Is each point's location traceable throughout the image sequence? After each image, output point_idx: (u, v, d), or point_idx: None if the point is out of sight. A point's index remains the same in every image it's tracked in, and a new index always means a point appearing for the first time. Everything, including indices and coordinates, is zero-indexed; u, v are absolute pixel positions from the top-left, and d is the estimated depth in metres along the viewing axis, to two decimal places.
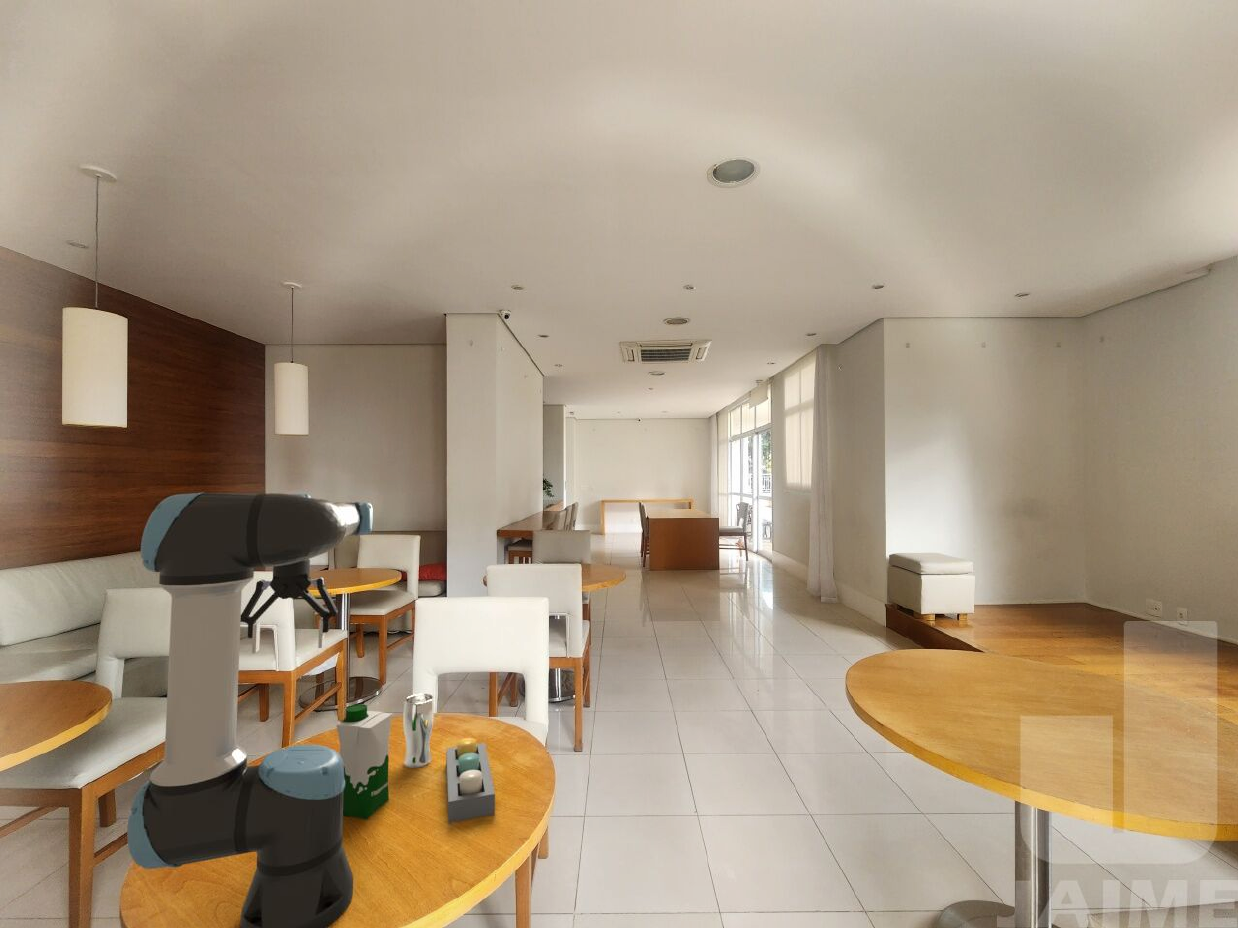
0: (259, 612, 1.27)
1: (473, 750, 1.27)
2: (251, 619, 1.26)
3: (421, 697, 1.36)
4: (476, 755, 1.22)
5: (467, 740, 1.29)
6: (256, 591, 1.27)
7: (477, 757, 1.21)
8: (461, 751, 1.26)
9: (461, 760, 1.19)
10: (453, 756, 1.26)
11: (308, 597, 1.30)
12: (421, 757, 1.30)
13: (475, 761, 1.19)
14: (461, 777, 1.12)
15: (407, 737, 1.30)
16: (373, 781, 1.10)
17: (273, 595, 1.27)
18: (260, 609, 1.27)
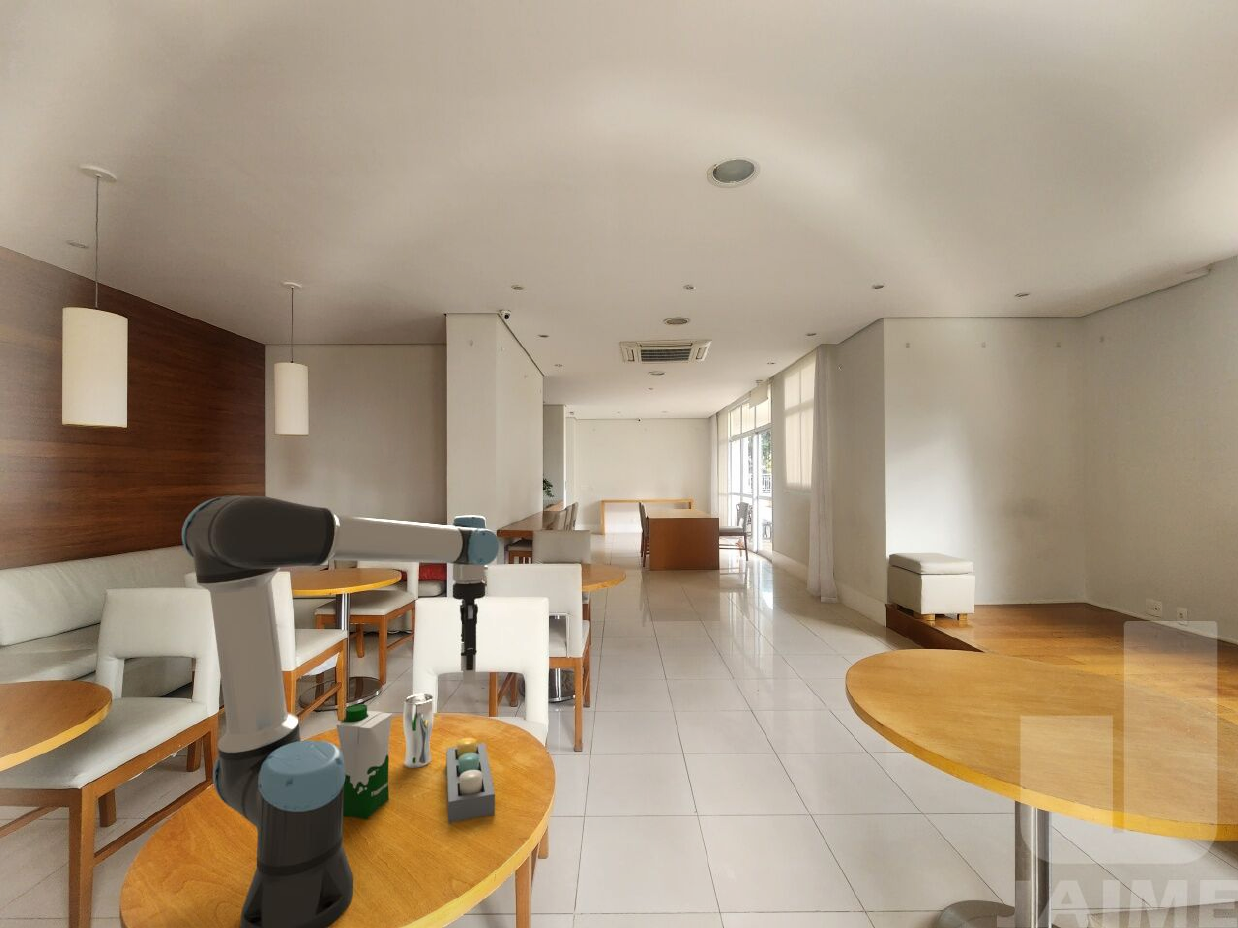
0: (462, 631, 1.34)
1: (473, 750, 1.27)
2: None
3: (421, 697, 1.36)
4: (476, 755, 1.22)
5: (467, 740, 1.29)
6: None
7: (477, 757, 1.21)
8: (461, 751, 1.26)
9: (461, 760, 1.19)
10: (453, 756, 1.26)
11: (463, 625, 1.26)
12: (421, 757, 1.30)
13: (475, 761, 1.19)
14: (461, 777, 1.12)
15: (407, 737, 1.30)
16: (373, 782, 1.10)
17: None
18: (462, 628, 1.34)
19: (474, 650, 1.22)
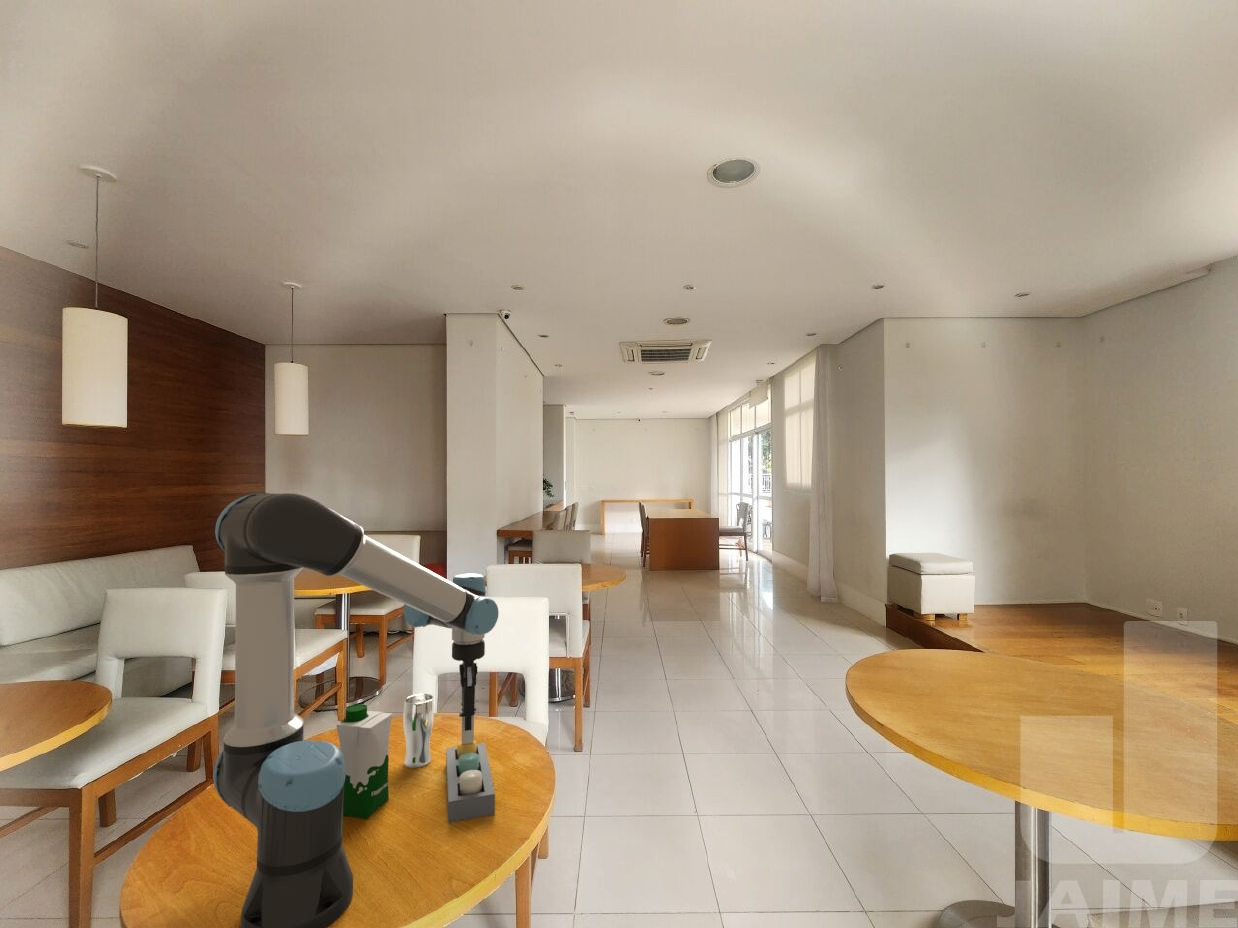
0: (462, 698, 1.30)
1: (473, 751, 1.27)
2: (462, 707, 1.30)
3: (421, 697, 1.36)
4: (476, 755, 1.22)
5: None
6: None
7: (477, 757, 1.21)
8: (461, 752, 1.26)
9: (461, 760, 1.19)
10: (453, 756, 1.26)
11: (462, 687, 1.27)
12: (421, 757, 1.30)
13: (475, 761, 1.19)
14: (461, 777, 1.12)
15: (407, 737, 1.30)
16: (373, 782, 1.10)
17: (460, 677, 1.30)
18: (462, 695, 1.30)
19: (472, 713, 1.26)
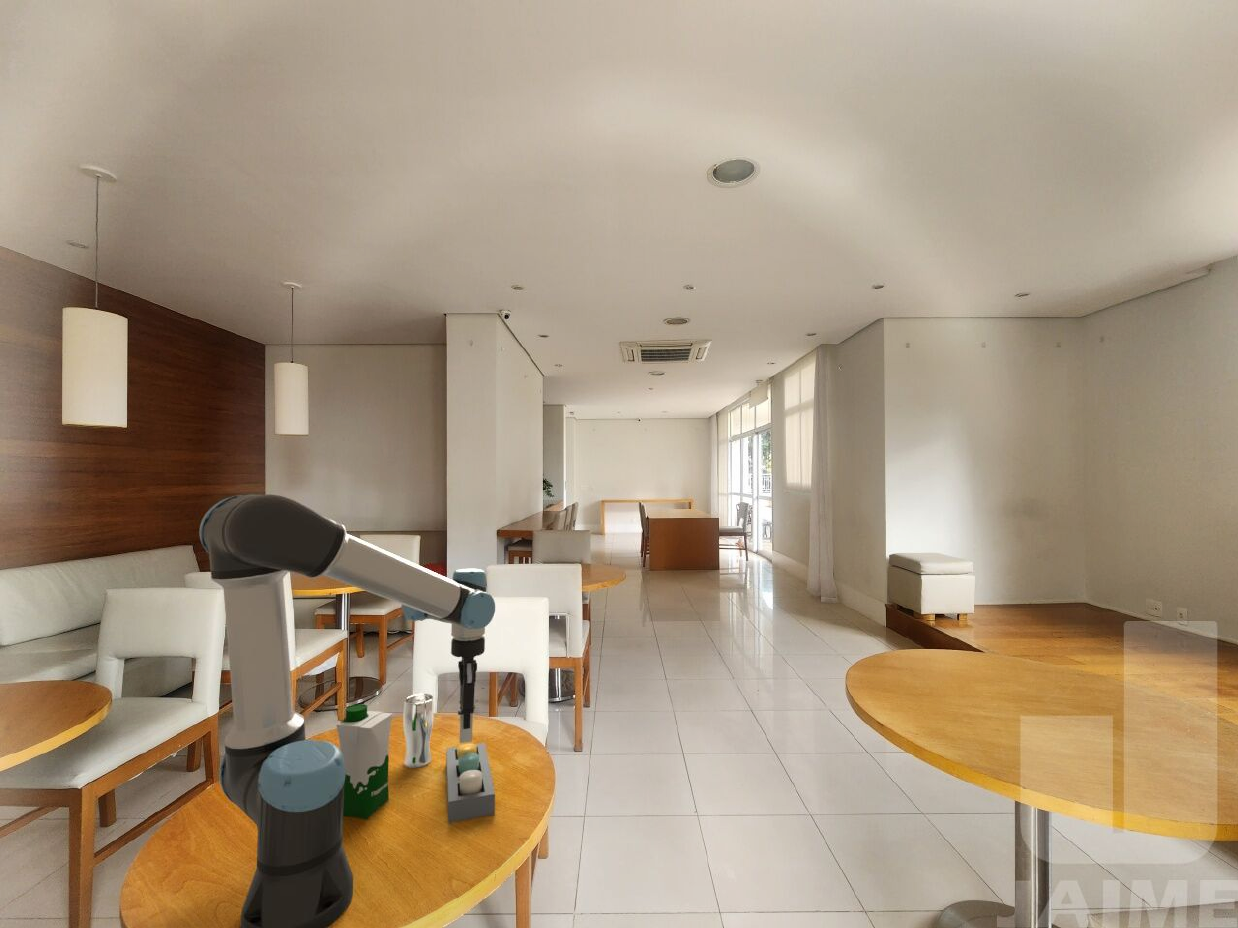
0: (461, 695, 1.27)
1: None
2: (460, 704, 1.27)
3: (421, 697, 1.36)
4: (476, 755, 1.22)
5: (467, 745, 1.29)
6: None
7: (477, 757, 1.21)
8: None
9: (461, 760, 1.19)
10: (453, 756, 1.26)
11: (461, 684, 1.25)
12: (421, 757, 1.30)
13: (475, 761, 1.19)
14: (461, 777, 1.12)
15: (407, 737, 1.30)
16: (373, 782, 1.10)
17: (459, 674, 1.27)
18: (461, 692, 1.27)
19: (471, 711, 1.23)
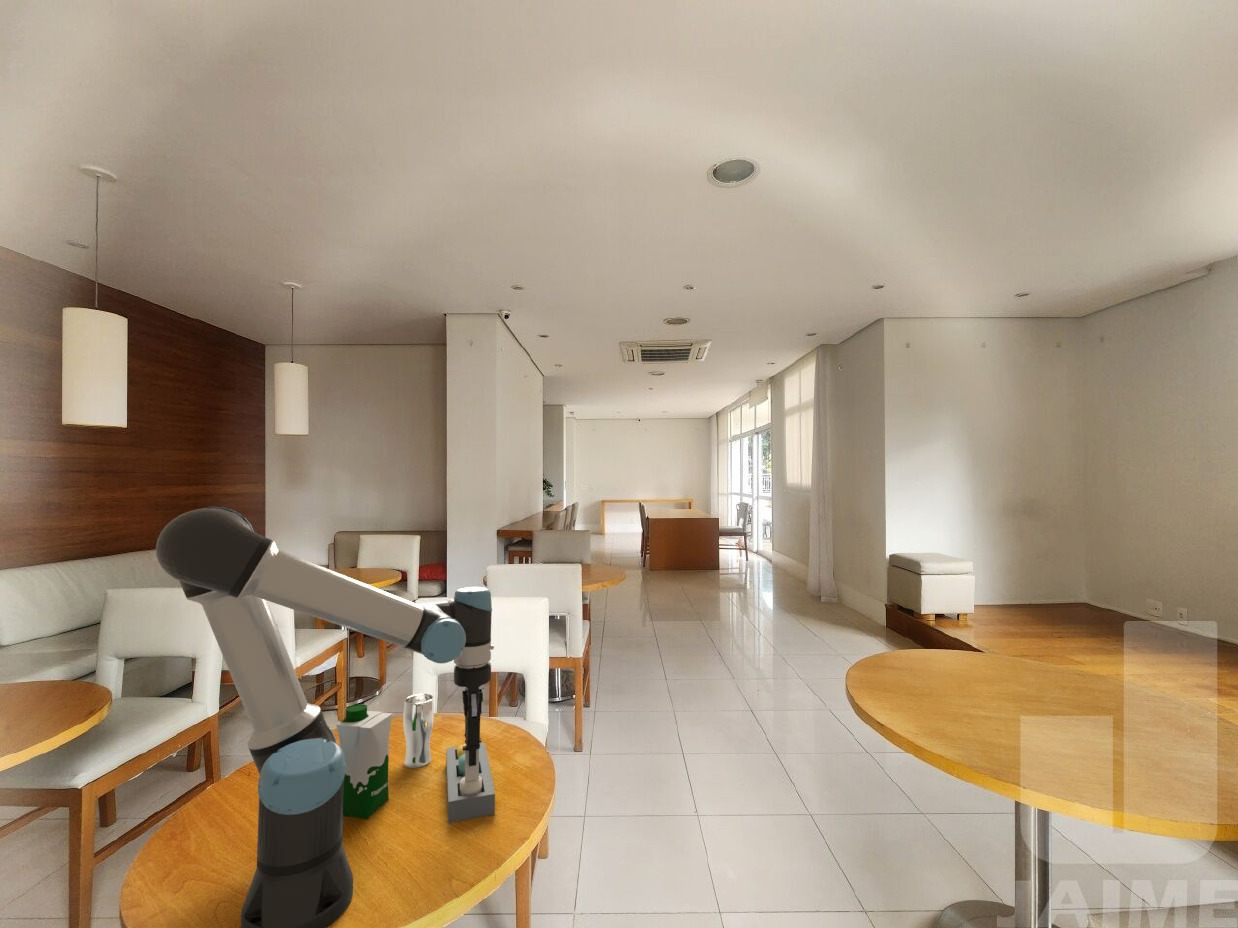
0: None
1: None
2: None
3: (421, 697, 1.36)
4: None
5: None
6: None
7: None
8: None
9: (461, 760, 1.19)
10: (453, 756, 1.26)
11: (466, 716, 1.12)
12: (421, 757, 1.30)
13: None
14: (461, 782, 1.12)
15: (407, 737, 1.30)
16: (373, 782, 1.10)
17: None
18: (465, 724, 1.15)
19: (477, 746, 1.10)
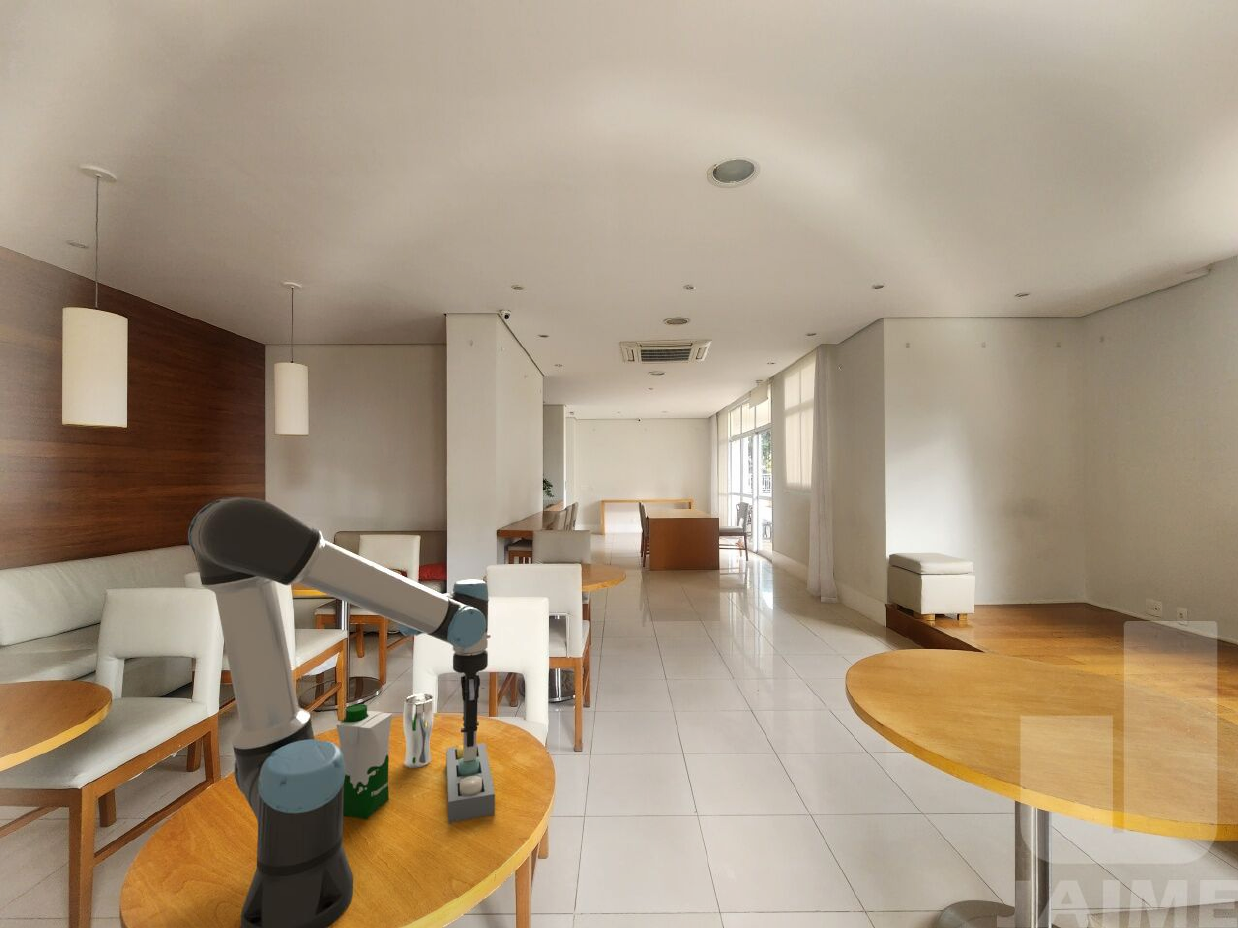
0: (464, 712, 1.22)
1: None
2: (464, 721, 1.22)
3: (421, 697, 1.36)
4: (476, 758, 1.22)
5: None
6: None
7: (477, 760, 1.21)
8: (461, 756, 1.26)
9: (461, 763, 1.19)
10: (453, 756, 1.26)
11: (464, 701, 1.20)
12: (421, 757, 1.30)
13: (475, 764, 1.19)
14: (461, 783, 1.12)
15: (407, 737, 1.30)
16: (373, 782, 1.10)
17: None
18: (464, 708, 1.22)
19: (475, 728, 1.18)
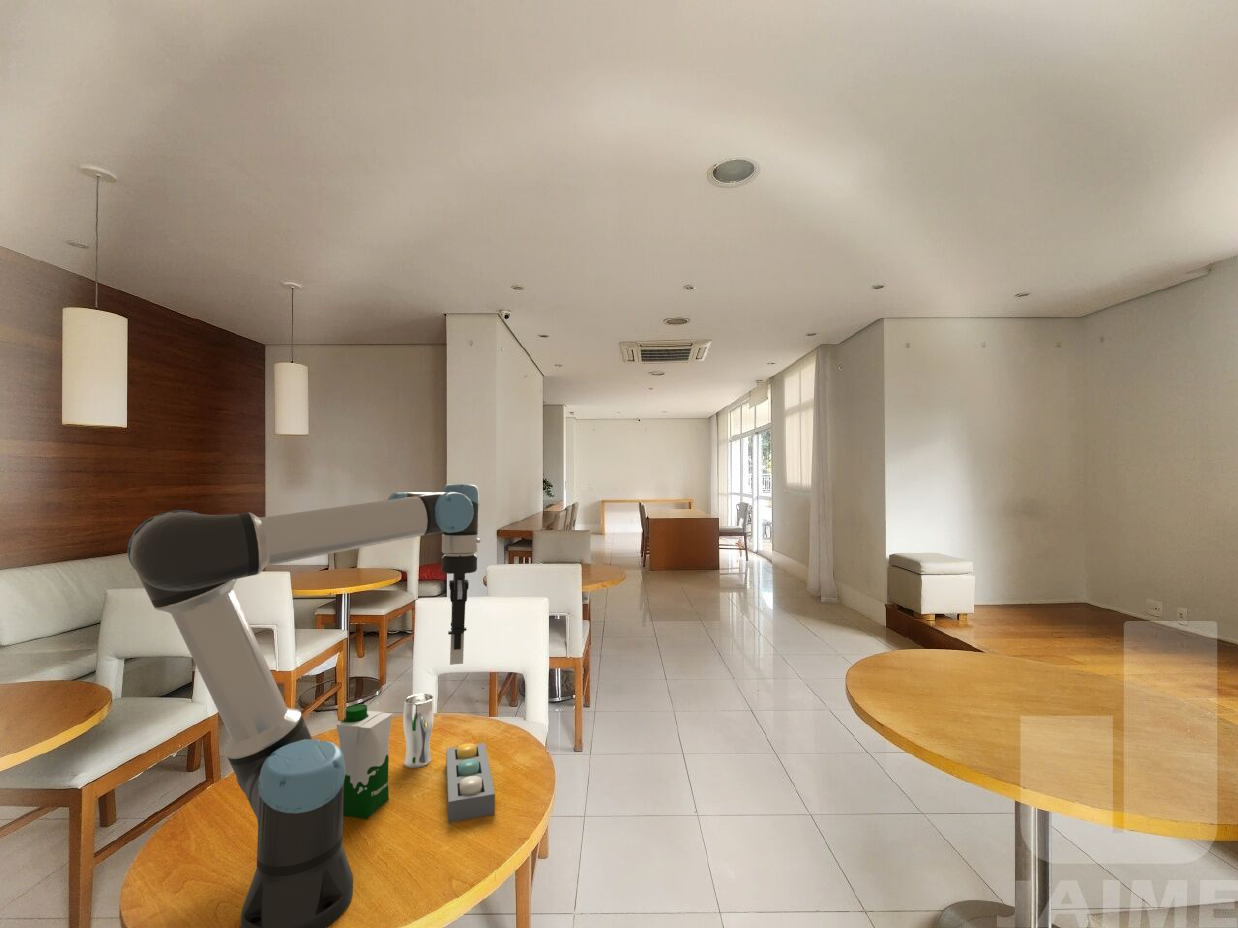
0: None
1: (473, 755, 1.27)
2: (451, 626, 1.21)
3: (421, 697, 1.36)
4: (476, 761, 1.22)
5: (467, 745, 1.29)
6: None
7: (477, 763, 1.21)
8: (461, 756, 1.26)
9: (461, 766, 1.19)
10: (453, 756, 1.26)
11: (452, 603, 1.18)
12: (421, 757, 1.30)
13: (475, 767, 1.19)
14: (461, 783, 1.12)
15: (407, 737, 1.30)
16: (373, 782, 1.10)
17: (450, 594, 1.21)
18: None
19: (462, 630, 1.16)
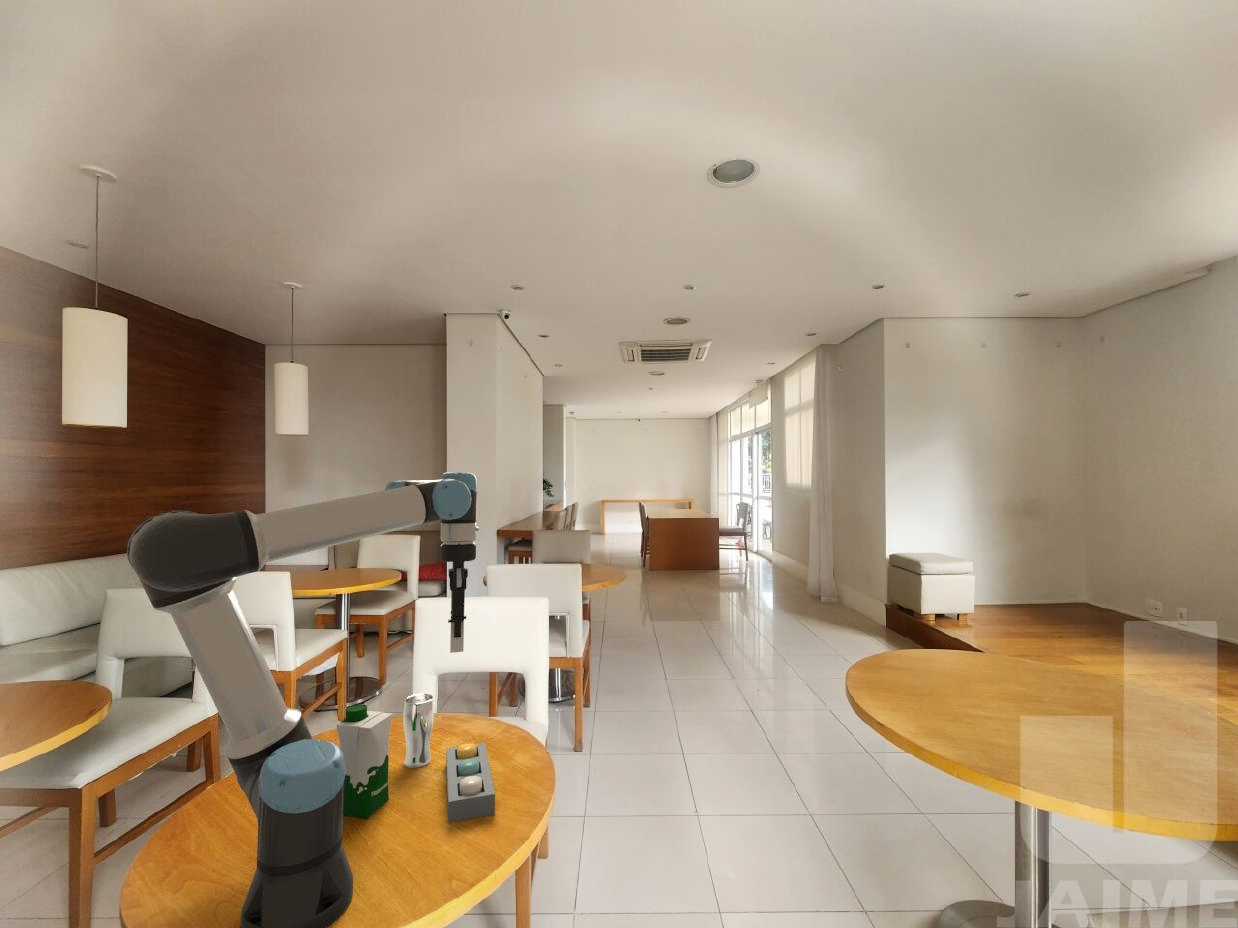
0: None
1: (473, 755, 1.27)
2: (451, 614, 1.21)
3: (421, 697, 1.36)
4: (476, 761, 1.22)
5: (467, 745, 1.29)
6: None
7: (477, 763, 1.21)
8: (461, 756, 1.26)
9: (461, 766, 1.19)
10: (453, 756, 1.26)
11: (451, 591, 1.18)
12: (421, 757, 1.30)
13: (475, 767, 1.19)
14: (461, 783, 1.12)
15: (407, 737, 1.30)
16: (373, 782, 1.10)
17: None
18: None
19: (462, 617, 1.16)
